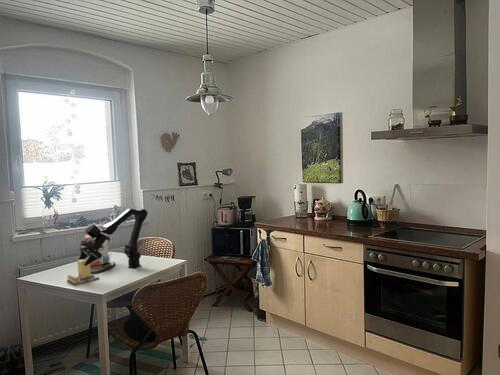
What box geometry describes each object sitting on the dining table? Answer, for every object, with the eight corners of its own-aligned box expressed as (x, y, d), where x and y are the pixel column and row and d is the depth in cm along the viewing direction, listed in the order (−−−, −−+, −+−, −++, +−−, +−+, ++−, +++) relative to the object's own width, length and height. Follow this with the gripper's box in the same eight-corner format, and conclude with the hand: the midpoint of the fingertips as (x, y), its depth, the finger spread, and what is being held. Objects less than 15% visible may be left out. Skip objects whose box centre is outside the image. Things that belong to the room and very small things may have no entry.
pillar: (87, 276, 227) (85, 258, 226) (90, 277, 224) (89, 259, 223) (78, 278, 223) (77, 260, 223) (82, 279, 220) (81, 261, 219)
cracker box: (86, 266, 253) (84, 236, 251) (87, 264, 258) (85, 235, 257) (108, 264, 258) (106, 234, 256) (108, 262, 263) (106, 232, 262)
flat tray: (90, 275, 232) (89, 269, 232) (99, 279, 224) (98, 272, 224) (67, 281, 222) (66, 274, 221) (75, 285, 214) (75, 278, 213)
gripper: (81, 233, 231) (64, 254, 224) (95, 236, 218) (77, 259, 211) (94, 243, 237) (78, 264, 230) (109, 247, 225) (92, 269, 217)
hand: (81, 264), depth 222 cm, fingers open, 9 cm apart
